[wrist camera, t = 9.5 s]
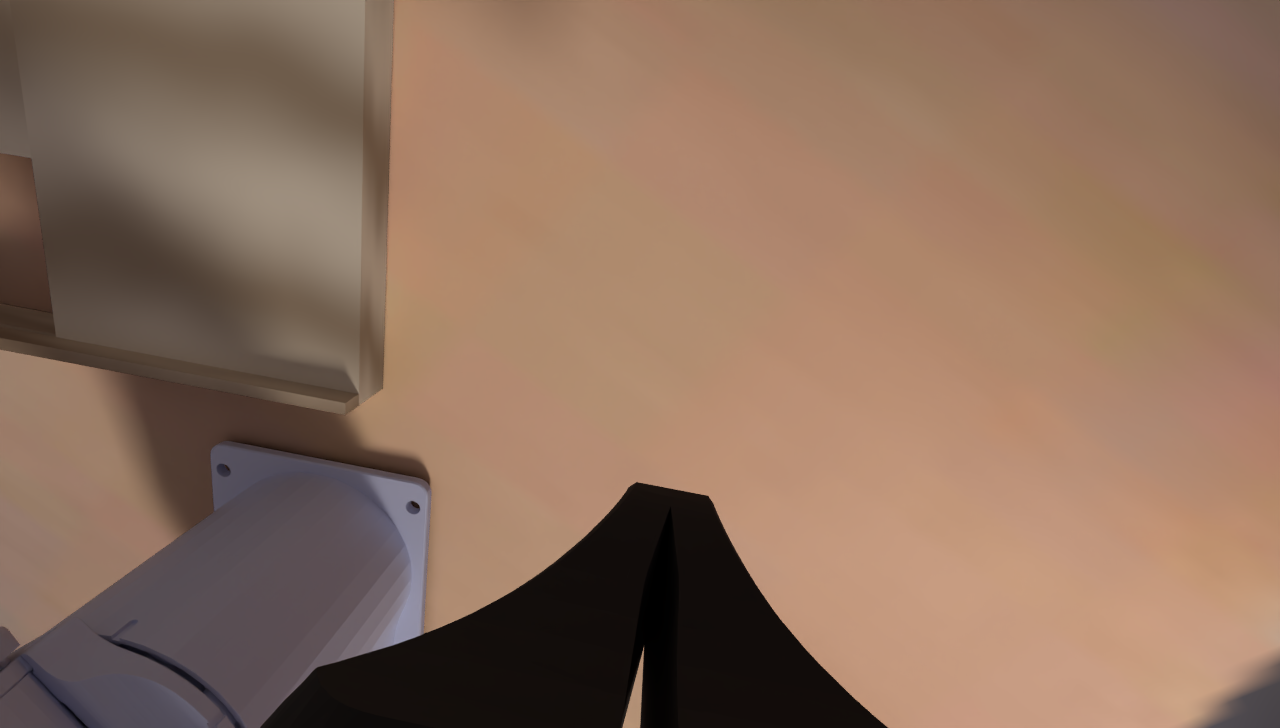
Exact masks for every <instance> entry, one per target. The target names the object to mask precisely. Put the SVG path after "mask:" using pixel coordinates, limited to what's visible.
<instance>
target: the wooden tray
mask: <svg viewBox="0 0 1280 728" xmlns="http://www.w3.org/2000/svg"><path fill="white" fill-rule="evenodd" d="M393 12H394V0H0V153H3V154H9V155H15V156H21V157H27V158H31V159H32V167H33V174H34V181H35V188H36V195H37V203H38V210H39V217H40V224H41V231H42V239H43V246H44V253H45V260H46V267H47V275H48V282H49V289H50V296H51V303H52V311H53V313H48V312H43V311H38V310H32V309H27V308H21V307H16V306H11V305H5V304H0V350H6V351H11V352H16V353H21V354H27V355H32V356H37V357H42V358H48V359H53V360H58V361H63V362H69V363H74V364H79V365H84V366H90V367H95V368H100V369H105V370H111V371H116V372H121V373H126V374H132V375H137V376H142V377H147V378H153V379H158V380H163V381H168V382H174V383H179V384H184V385H190V386H195V387H200V388H205V389H211V390H216V391H221V392H226V393H232V394H237V395H242V396H247V397H253V398H258V399H263V400H268V401H274V402H279V403H284V404H289V405H295V406H300V407H305V408H310V409H316V410H321V411H326V412H331V413H337V414H342V415H346V414H348V413H349V412H350V411H352V410H353V409H355V408H356V407H357V406H359V405H360V404H362V403H363V402H365V401H366V400H367V399H369V398H370V397H372V396H373V395H374V394H376V393H377V392H379V391H380V390H381V389H383V367H384V331H385V296H386V260H387V225H388V189H389V154H390V118H391V83H392V48H393Z"/></svg>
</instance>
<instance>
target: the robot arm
mask: <svg viewBox="0 0 1280 728" xmlns="http://www.w3.org/2000/svg"><path fill="white" fill-rule="evenodd" d="M210 457H211V472H212V488H213V503H214V512H213V513H212V514H210V515H209V516H208V517H206V518H205V519H203V520H202V521H201V522H199V523H198V524H196V525H195V526H194V527H192V528H191V529H189V530H188V531H187V532H185V533H184V534H183V535H181V536H180V537H178V538H177V539H176V540H174V541H173V542H171V543H170V544H169V545H167V546H166V547H164V548H163V549H162V550H160V551H159V552H157V553H156V554H155V555H153V556H152V557H150V558H149V559H148V560H146V561H145V562H143V563H142V564H141V565H139V566H138V567H137V568H135V569H134V570H132V571H131V572H130V573H128V574H127V575H125V576H124V577H123V578H121V579H120V580H118V581H117V582H116V583H114V584H113V585H111V586H110V587H109V588H107V589H106V590H104V591H103V592H102V593H100V594H99V595H97V596H96V597H95V598H93V599H92V600H90V601H89V602H88V603H86V604H85V605H84V606H82V607H81V608H79V609H78V610H77V611H75V612H74V613H72V614H71V615H70V616H68V617H67V618H65V619H64V620H63V621H61V622H60V623H58V624H57V625H56V626H54V627H53V628H51V629H50V630H49V631H47V632H46V633H44V634H43V635H41V636H40V637H38V638H36V639H35V640H33V641H31V642H29V643H28V644H26V645H24V646H22V647H21V648H19V649H17V650H15V649H16V648H17V647H18V646H19V645H20V644H19V643H18V641H17V640H16V639H15V638H14V636H13V635H12V634H11V632H10V631H9V630H8V629H7V628H5V627H0V728H622V727H623V723H624V719H625V715H626V712H627V708H628V704H629V700H630V697H631V693H632V689H633V685H634V682H635V678H636V674H637V670H638V667H639V663H640V659H641V655H642V651H643V648H644V662H643V682H642V703H641V725H640V728H888V727H886V726H885V725H884V724H883V723H882V722H880V721H879V720H878V719H877V718H876V717H874V716H873V715H872V714H871V713H870V712H869V711H868V710H867V709H865V708H864V707H863V706H862V705H861V704H860V703H859V702H858V701H857V700H855V699H854V698H853V697H852V696H851V695H850V694H849V693H848V692H847V691H846V690H845V689H844V688H843V687H842V686H841V685H840V684H839V683H838V682H837V681H836V680H835V679H834V678H833V677H832V676H831V675H830V674H829V673H828V672H827V671H826V670H825V669H824V668H823V667H822V666H821V665H820V664H819V663H818V662H817V661H816V660H815V659H814V658H813V657H812V656H811V655H810V654H809V653H808V651H807V650H806V649H805V648H804V647H803V646H802V645H801V643H800V642H799V641H798V640H797V639H796V638H795V636H794V635H793V634H792V633H791V632H790V630H789V629H788V628H787V627H786V626H785V624H784V623H783V622H782V621H781V620H780V618H779V617H778V616H777V614H776V613H775V612H774V610H773V609H772V608H771V606H770V605H769V603H768V602H767V600H766V599H765V597H764V596H763V595H762V593H761V592H760V590H759V589H758V587H757V586H756V584H755V582H754V581H753V579H752V578H751V576H750V574H749V573H748V571H747V569H746V568H745V566H744V564H743V562H742V561H741V559H740V557H739V556H738V554H737V552H736V550H735V548H734V547H733V545H732V543H731V541H730V539H729V537H728V535H727V533H726V531H725V529H724V527H723V525H722V523H721V521H720V518H719V516H718V514H717V512H716V509H715V507H714V504H713V502H712V501H711V499H710V498H709V496H706V495H701V494H695V493H690V492H685V491H680V490H674V489H669V488H664V487H659V486H653V485H648V484H643V483H638V482H636V483H635V484H633V485H631V486H630V487H629V488H628V489H627V491H626V493H625V494H624V495H623V497H622V498H621V499H620V501H619V502H618V503H617V504H616V505H615V506H614V508H613V509H612V510H611V511H610V512H609V513H608V514H607V515H606V516H605V517H604V518H603V519H602V520H601V521H600V522H599V523H598V524H597V525H596V526H595V527H594V528H593V529H592V530H591V531H590V532H589V533H588V534H587V535H586V536H585V537H584V538H583V539H582V540H581V541H580V542H578V543H577V544H576V545H575V546H574V547H572V548H571V549H570V550H569V551H568V552H567V553H565V554H564V555H563V556H562V557H561V558H559V559H558V560H557V561H556V562H554V563H553V564H552V565H550V566H549V567H548V568H546V569H545V570H544V571H542V572H541V573H540V574H538V575H537V576H535V577H534V578H532V579H531V580H529V581H528V582H526V583H525V584H523V585H522V586H520V587H519V588H517V589H516V590H514V591H512V592H511V593H509V594H507V595H505V596H504V597H502V598H500V599H498V600H497V601H495V602H493V603H491V604H489V605H487V606H485V607H483V608H481V609H479V610H478V611H476V612H474V613H472V614H470V615H468V616H466V617H463V618H461V619H459V620H457V621H454V622H452V623H450V624H447V625H445V626H443V627H440V628H438V629H435V630H433V631H430V632H428V633H425V634H424V616H425V599H426V581H427V563H428V546H429V528H430V510H431V488H430V486H429V484H428V483H427V482H426V481H424V480H423V479H420V478H417V477H411V476H406V475H401V474H396V473H391V472H386V471H381V470H376V469H370V468H365V467H360V466H355V465H350V464H345V463H340V462H334V461H329V460H324V459H319V458H314V457H309V456H304V455H298V454H293V453H288V452H283V451H278V450H273V449H268V448H263V447H257V446H252V445H247V444H242V443H237V442H232V441H223V442H221V443H219V444H217V445H215V446H214V447H213V448H212V449H211V454H210ZM224 464H225V465H227V466H228V467H229V468H230V471H229V470H227V469H226V468H225V465H224ZM411 501H414V502H417V503H418V505H419V506H420V508H419V509H417V508H415V507H413V505H412V504H411ZM14 650H15V651H14ZM13 651H14V652H13ZM11 652H12V653H11Z"/></svg>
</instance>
